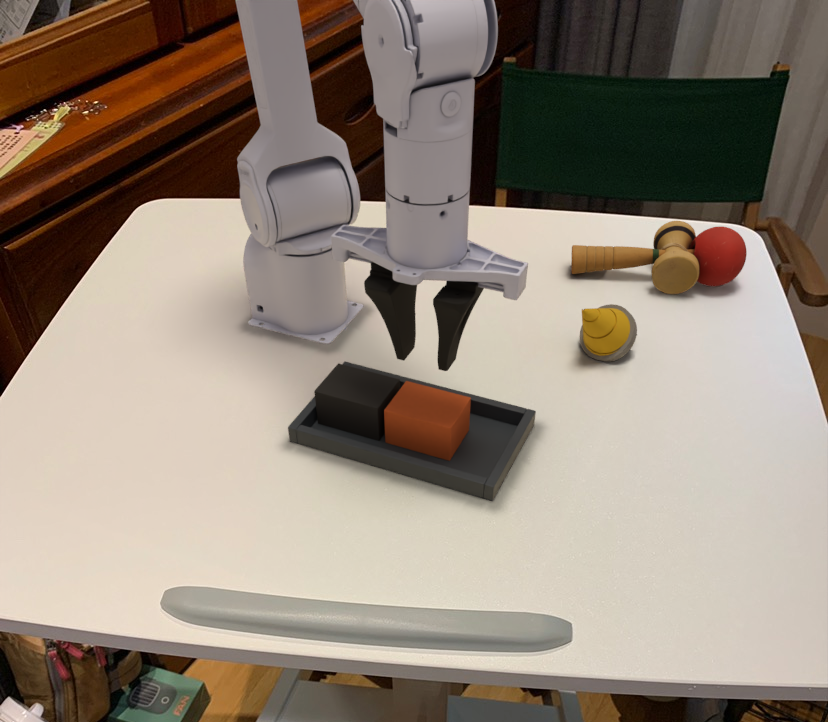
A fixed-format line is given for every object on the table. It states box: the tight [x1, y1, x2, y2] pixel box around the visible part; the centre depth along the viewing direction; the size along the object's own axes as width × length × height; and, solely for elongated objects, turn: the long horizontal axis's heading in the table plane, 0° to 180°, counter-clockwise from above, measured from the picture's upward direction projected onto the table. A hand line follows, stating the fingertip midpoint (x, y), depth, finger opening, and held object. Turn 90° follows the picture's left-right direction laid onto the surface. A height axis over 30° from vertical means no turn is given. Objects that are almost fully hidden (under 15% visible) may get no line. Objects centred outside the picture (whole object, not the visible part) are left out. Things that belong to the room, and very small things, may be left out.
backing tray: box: [287, 360, 537, 502], centre depth 71 cm, size 19×11×2 cm, turn 66°
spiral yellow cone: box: [579, 303, 638, 363], centre depth 77 cm, size 5×5×10 cm
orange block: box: [384, 381, 471, 461], centre depth 70 cm, size 6×4×4 cm
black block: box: [313, 362, 400, 441], centre depth 72 cm, size 6×4×4 cm
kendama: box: [570, 220, 747, 295], centre depth 88 cm, size 8×6×18 cm
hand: (426, 358), depth 65 cm, fingers open, 3 cm apart
